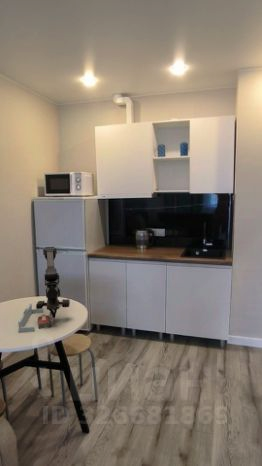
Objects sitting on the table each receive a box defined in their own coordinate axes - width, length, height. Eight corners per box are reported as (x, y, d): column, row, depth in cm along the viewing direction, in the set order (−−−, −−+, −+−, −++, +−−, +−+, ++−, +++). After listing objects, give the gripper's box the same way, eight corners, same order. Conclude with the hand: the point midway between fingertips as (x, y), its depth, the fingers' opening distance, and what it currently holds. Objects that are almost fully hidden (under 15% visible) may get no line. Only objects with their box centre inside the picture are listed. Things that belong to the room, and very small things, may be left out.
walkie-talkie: (54, 327, 178) (52, 314, 197) (54, 320, 178) (51, 307, 197) (38, 330, 176) (37, 316, 195) (38, 322, 175) (37, 309, 194)
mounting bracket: (30, 312, 199) (29, 302, 198) (43, 312, 200) (42, 301, 199) (19, 332, 173) (18, 320, 172) (34, 331, 174) (33, 319, 173)
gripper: (33, 298, 176) (35, 324, 179) (67, 296, 178) (68, 322, 180) (37, 291, 187) (39, 316, 190) (69, 289, 189) (70, 314, 191)
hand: (54, 317), depth 187 cm, fingers closed
